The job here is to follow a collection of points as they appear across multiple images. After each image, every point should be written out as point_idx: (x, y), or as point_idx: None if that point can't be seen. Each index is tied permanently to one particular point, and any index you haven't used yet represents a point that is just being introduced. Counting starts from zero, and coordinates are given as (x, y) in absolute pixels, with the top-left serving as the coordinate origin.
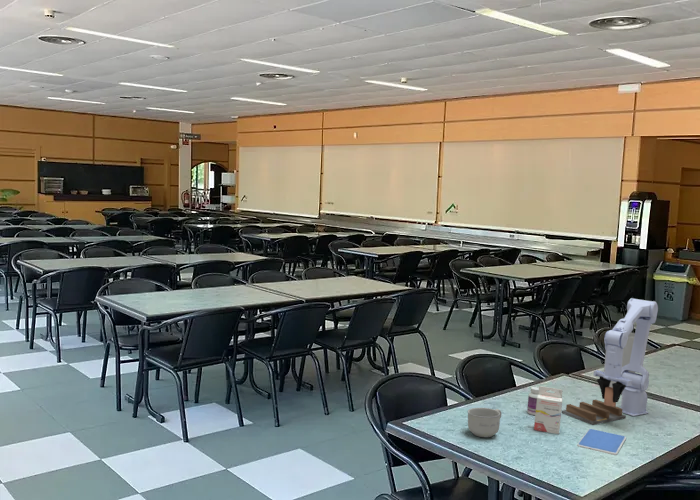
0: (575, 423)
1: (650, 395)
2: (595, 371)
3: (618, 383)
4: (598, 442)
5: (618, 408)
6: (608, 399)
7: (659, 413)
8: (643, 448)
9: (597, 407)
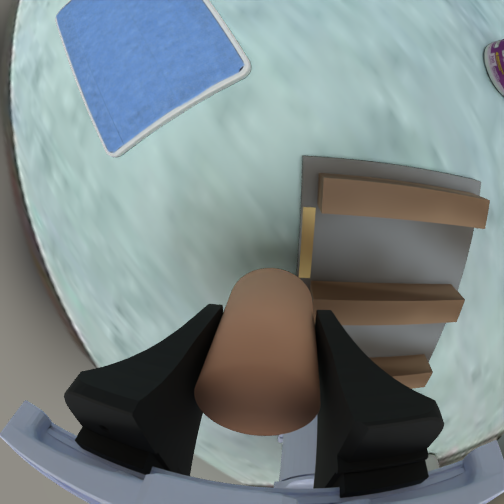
0: (359, 95)
1: None
2: (494, 492)
3: (116, 445)
4: (121, 1)
5: None
6: (250, 296)
7: (265, 452)
8: (46, 144)
9: (380, 317)
